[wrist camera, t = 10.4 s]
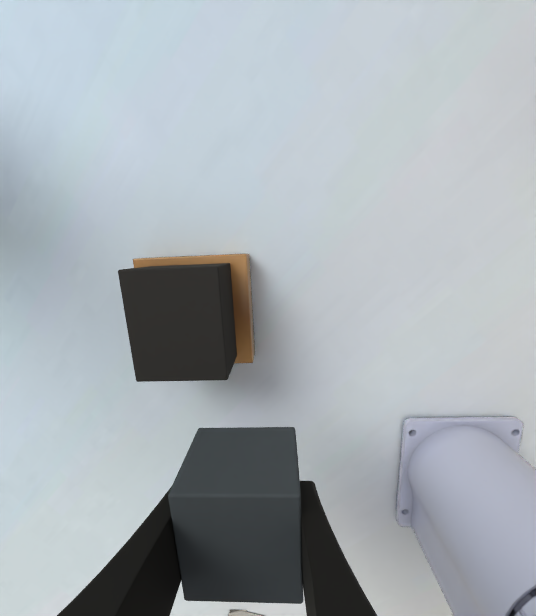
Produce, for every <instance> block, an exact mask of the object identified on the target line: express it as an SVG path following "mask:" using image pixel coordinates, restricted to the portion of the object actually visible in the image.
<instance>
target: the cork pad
mask: <svg viewBox="0 0 536 616" xmlns="http://www.w3.org/2000/svg"><path fill="white" fill-rule="evenodd" d="M216 263H230V266H231V279H232V293H233V307H234V320H235V334H236V348H237V357H236V360H235V362H234V363H253V360H254V356H255V345H254V328H253V310H252V293H251V275H250V258H249V254H229V255H206V256H182V257H159V258H138V259H133V264H134V268H139V267H148V266H167V265H191V264H216Z"/></svg>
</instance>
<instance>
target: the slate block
mask: <svg viewBox="0 0 536 616" xmlns="http://www.w3.org/2000/svg"><path fill="white" fill-rule="evenodd" d="M168 499H169V505H170V512H171V518H172V524H173V530H174V537H175V543H176V549H177V555H178V562H179V568H180V574H181V581H182V587H183V593H184V599H185V600H186V601H221V602H258V603H295V604H301V603H302V602H303V574H302V530H301V491H300V480H299V468H298V456H297V445H296V433H295V428H294V427H263V428H199V429H198V431H197V433H196V435H195V437H194V439H193V442H192V444H191V446H190V448H189V450H188V453H187V455H186V457H185V459H184V461H183V463H182V466H181V468H180V470H179V472H178V474H177V477H176V479H175V481H174V483H173V485H172V488H171V490H170V492H169V494H168Z"/></svg>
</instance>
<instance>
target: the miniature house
mask: <svg viewBox="0 0 536 616" xmlns="http://www.w3.org/2000/svg"><path fill="white" fill-rule="evenodd" d="M244 611H247V610H230V612H229V614H228V616H261V615H257V614H253V613H249V612H244Z"/></svg>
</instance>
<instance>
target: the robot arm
mask: <svg viewBox="0 0 536 616" xmlns="http://www.w3.org/2000/svg"><path fill="white" fill-rule="evenodd" d="M523 426H524V425H523V422H522V421H521V420H519V419H518V418H516V417H438V418H408V419H406V420H405V421H404V424H403V435H402V447H401V459H400V472H399V484H398V496H397V509H396V521H397V523H398V525H400V526H402V527H412V529H413V531H414V533H415V535H416V537H417V540H418V542H419V544H420V546H421V548H422V550H423V552H424V554H425V556H426V559H427V561H428V563H429V565H430V567H431V569H432V571H433V573H434V575H435V577H436V580H437V582H438V584H439V586H440V588H441V590H442V592H443V594H444V596H445V599H446V601H447V603H448V605H449V607H450V609H451V611H452V613H453V615H454V616H536V469H535V468H534V467H533V466H532V465H531V464H530V463H528V462H527V461H526V460H525V459H524V458H523V457H521V456H520V455H519V454H518V451H519V446H520V441H521V436H522V431H523ZM411 430H413V431H412V432H410V433H409V431H411ZM171 488H172V487H171ZM171 488H170V489H169V491H168V492H167V493H166V494H165V496H164V497H163V498H162V500H161V501H160V502H159V503H158V505H157V506H156V507H155V508H154V510H153V511H152V512H151V513H150V515H149V516H148V517H147V518H146V520H145V521H144V522H143V523H142V524H141V526H140V527H139V528H138V529H137V531H136V532H135V533H134V534H133V535H132V537H131V538H130V539H129V540H128V541H127V542H126V544H125V545H124V546H123V547H122V548H121V549H120V550H119V551H118V553H117V554H116V555H115V556H114V557H113V558H112V559H111V561H110V562H109V563H108V564H107V565H106V566H105V567H104V568H103V569H102V571H101V572H100V573H99V574H98V575H97V576H96V577H95V578H94V579H93V580H92V581H91V582H90V583H89V584H88V585H87V586H86V587H85V588H84V589H83V590H82V591H81V592H80V594H79V595H78V596H77V597H76V598H75V599H74V600H73V601H72V602H71V603H70V604H69V605H68V606H67V607H65V608H64V609H63V610H62V611H61V612H60V613H59V614H58V615H57V616H169V615H170V612H171V609H172V606H173V603H174V600H175V597H176V594H177V591H178V588H179V585H180V582H181V574H180V568H179V562H178V555H177V549H176V543H175V537H174V530H173V524H172V518H171V512H170V505H169V499H168V494H169V492H170V490H171ZM300 491H301V530H302V574H303V589H304V596H305V604H306V612H307V616H377V614H376V613H375V611H374V609H373V608H372V606H371V604H370V602H369V601H368V599H367V597H366V596H365V594H364V592H363V590H362V588H361V587H360V585H359V583H358V581H357V579H356V577H355V576H354V574H353V572H352V570H351V568H350V566H349V564H348V562H347V560H346V558H345V556H344V554H343V552H342V550H341V548H340V546H339V544H338V542H337V540H336V537H335V535H334V533H333V531H332V529H331V527H330V524H329V522H328V520H327V517H326V515H325V512H324V510H323V507H322V505H321V502H320V499H319V496H318V493H317V490H316V487H315V483H314V482H313V481H300Z"/></svg>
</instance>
